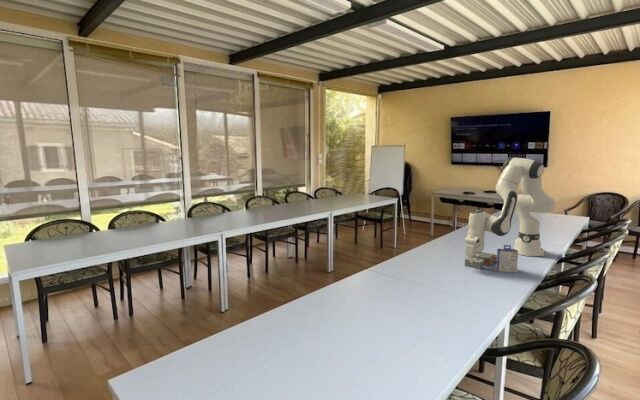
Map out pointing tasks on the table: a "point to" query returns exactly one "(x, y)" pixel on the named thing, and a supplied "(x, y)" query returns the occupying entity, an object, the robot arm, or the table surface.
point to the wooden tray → (487, 258)
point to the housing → (474, 263)
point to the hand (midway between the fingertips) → (474, 260)
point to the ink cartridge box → (507, 259)
